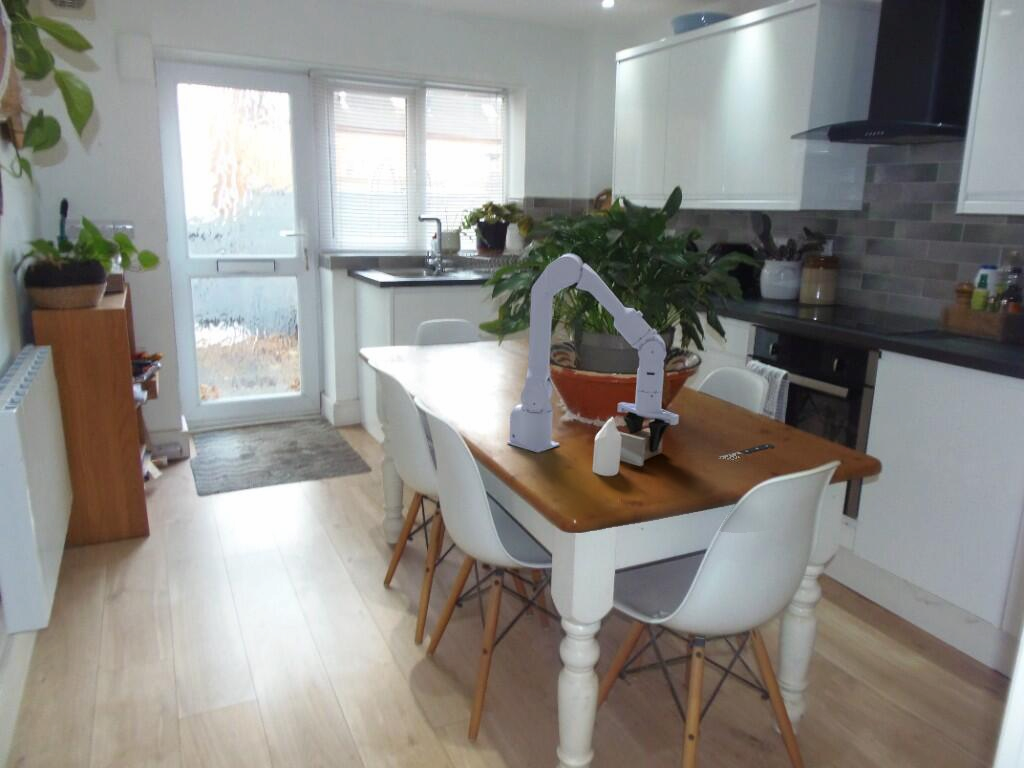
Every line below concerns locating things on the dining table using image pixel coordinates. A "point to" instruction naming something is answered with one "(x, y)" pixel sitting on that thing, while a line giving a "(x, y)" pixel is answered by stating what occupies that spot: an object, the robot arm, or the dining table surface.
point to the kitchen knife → (749, 451)
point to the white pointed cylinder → (607, 450)
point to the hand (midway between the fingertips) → (644, 448)
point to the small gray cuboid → (637, 447)
